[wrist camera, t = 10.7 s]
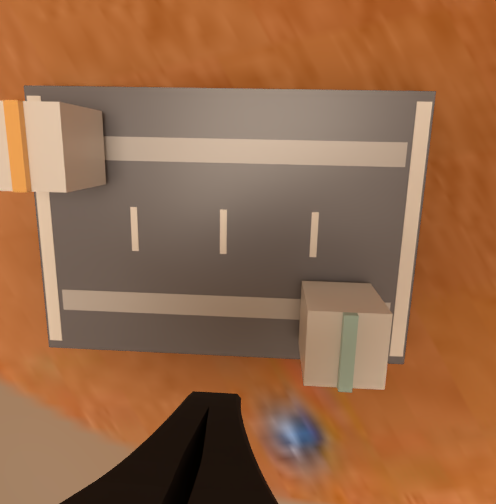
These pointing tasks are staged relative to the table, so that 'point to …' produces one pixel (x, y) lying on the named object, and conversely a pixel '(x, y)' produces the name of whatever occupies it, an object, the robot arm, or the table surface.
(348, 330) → the fader
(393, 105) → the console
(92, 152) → the fader
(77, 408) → the table surface
